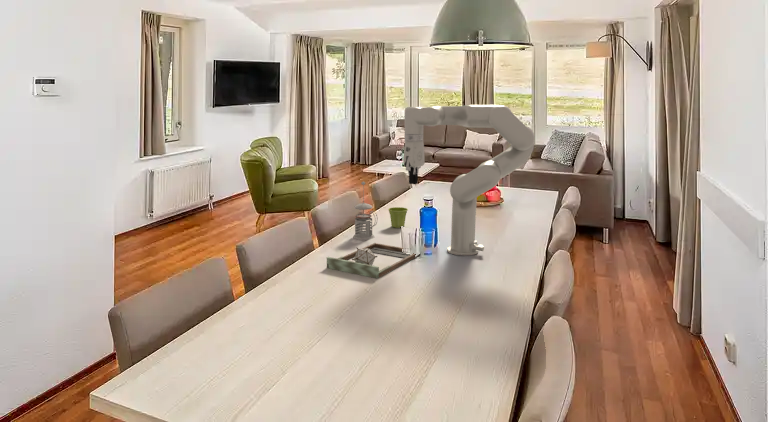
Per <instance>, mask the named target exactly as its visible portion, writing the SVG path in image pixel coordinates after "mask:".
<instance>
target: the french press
mask: <svg viewBox="0 0 768 422" xmlns="http://www.w3.org/2000/svg"><path fill="white" fill-rule="evenodd" d="M360 185H362V193H363V194H362V196H363V197H362V201H363V202H361V203H358V204H356V205H355V206H354V209H355V210H360V211H363V212H362V213H360V214H356V215H355V218H354V233H355V234H354V235H352V238H353V239H355V240H362V241H363V240H371V239H374V238H375V235H374V234H373V228H374V227H375V226H376V225H377V223H378V221H377V220H378V219H379V217H378V214H377V212H375V211H374V210H372V209H373V205H372V204H369V203H366V202H365V201H364V199H365V198H364V189H365V188H364V187H365V186H364V185H366V182H365V181H362V182H361V184H360ZM367 210H371V211H369V214H368V213H365V211H367ZM372 215H373V216H374V218H376V219H374V224H373V218H372Z"/></svg>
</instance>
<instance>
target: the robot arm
mask: <svg viewBox="0 0 768 422" xmlns="http://www.w3.org/2000/svg"><path fill="white" fill-rule="evenodd" d="M440 125H441V126H461V127H464V128H475V129H476V128H487V129H489V128H490V129H494V130H495V131H496V132H497V133H498V134H499V135H500V136H501V137H502V138H503V139H504V140H505V141H506V142H507V143H508V144H509V145H510V146H509V147H507V149H505V150H504V151H502V152H500V153H499V154H497V155H496V156H494V157H492V158H490V159H488V160H486V161H484V162H481V164H479V165H478V167H476V168H474V169H472V170H471V171H469V172H468V173H463V174H460V175H458V176H456V177H455V178H454V180H453V181H452V183H451V185H450V188H449V194H450V197H451V198H452V202H451V203H452V204H451V206H452V207H451V230H450V231H451V232H450V233H451V234H450V245H449V246H447V248H446V252H447V253H448V254H451V255H454V256H461V257H462V256H463V257H464V256H465V257H467V256H468V257H469V256H473V255H474V256H475V255H477V254H478V253H479V252H484V250H485V247H484V245H483V244H478V240H475V239H476V219H477V217H476V215H477V204H478V203H477V202H478V199H477V198H478V197H479V196H481V195H483V194H485V193H487V192H488V191H489V190H492V189H494V188H495V187H496V186H497V185H498V183H500V180H501V179H503V178H505V177H506V176H509V175H510V174H511V173H513V172H514V171H516V170H517V169H519V168H521V167H522V166H523V165H525V164H526V163H527V162H528V160H529V159H530V157H531V156H532V153H533V152H534V148H535V133H534V131H533V129H532V128H531V127H529V126H526V124H524V123H523V122H522V121H521V120H520V119H519V118H518V117H517V116H516V115H515V114H514V113H513V112H512V110H511V109H510V107H509V106H507V105H502V104H467V105H455V106H454V105H449V106H448V105H441V106H439V105H433V106H427V107H421V106H408V107H406V108H405V110H404V139H403V140H404V147H403V166H404V168H405V171H406V172H408V184H409V185H417V184H418V182H419V181H418V180H419V179H418V177H419V171H420V169H421V167H423V166H424V165H425V161H426V160H425V145H424V126H427V127H436V126H440Z"/></svg>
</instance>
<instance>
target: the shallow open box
mask: <svg viewBox="0 0 768 422" xmlns="http://www.w3.org/2000/svg"><path fill="white" fill-rule="evenodd" d="M369 246H370V250H371V251H372V253H373V254H377V255H378V254H379V255H382V256H383V255H384V256H390V257H395V258H400V260H399V261H397V262H395V263H393V264H390V265H387V266H386V267H384V268H382V269H380V267H379V266H378V265H377V266H376V265H373V264H372V265H367V264H362V263H357V262H355V261H353V260H352V259H354V258H355V255H356V252H357V250H355V251H353V252H351V253H349V254H348V253H347V254H346V255H344V256H340V257H337V258H336V257H330V256H327V257H326V268H327V269H330V270H336V271H341V272H345V273H349V274H354V275H359V276H364V277H368V278H372V277H373V279H379V278H381V277H383V276H384V275H386V274H388V273H390V272H391V271H393V270H395V269H397V268H399V267H401V266H403V265H405V264H406V263H409V262H410V261H412V260H414V259H416V258H415V255H416V254H414V253H413V254H412V255H410V254H406V253H403V252H402V249H403V248H404V247H401V246H400V247H399V246H395V245H394V246H393V245H388V244H384V243H377V242H374V243H371V244H369V245H367V246H364V247H362V248H361V249H364V248H369Z"/></svg>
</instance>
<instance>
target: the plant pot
mask: <svg viewBox="0 0 768 422" xmlns="http://www.w3.org/2000/svg"><path fill="white" fill-rule="evenodd" d="M387 210H388V212H389V217H390V223H391V224H390V226H391V228H396V229H401V228H400V227H401V226H404V227H405V223H406V216H407V212H408V211H409V209H408V208H407V207H399V206H396V207H394V206H393V207H390V208H388V209H387Z"/></svg>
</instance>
